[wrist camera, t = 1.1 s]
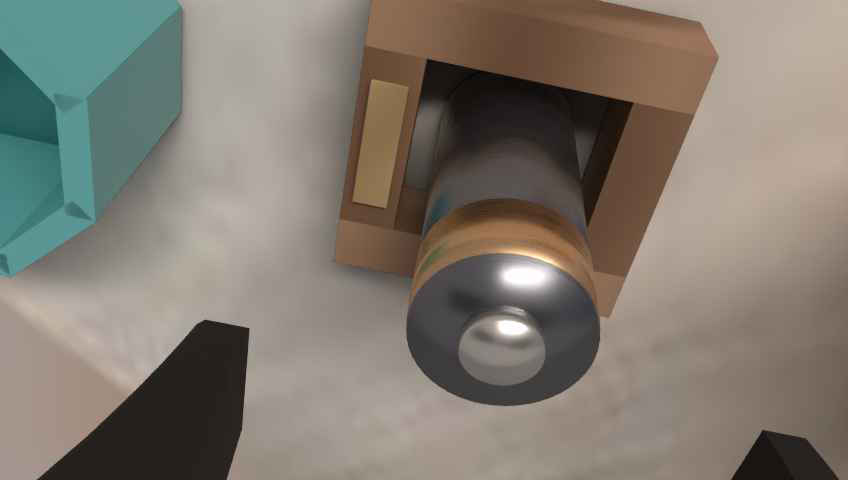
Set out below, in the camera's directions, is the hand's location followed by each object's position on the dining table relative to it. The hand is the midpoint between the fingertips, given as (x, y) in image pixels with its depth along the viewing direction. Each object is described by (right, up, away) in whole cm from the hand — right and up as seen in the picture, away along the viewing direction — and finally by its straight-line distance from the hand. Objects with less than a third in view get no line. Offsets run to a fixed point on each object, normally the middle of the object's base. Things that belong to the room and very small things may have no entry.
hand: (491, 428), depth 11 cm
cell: (+1, +5, +8) cm, 10 cm away
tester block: (+1, +5, +8) cm, 10 cm away
